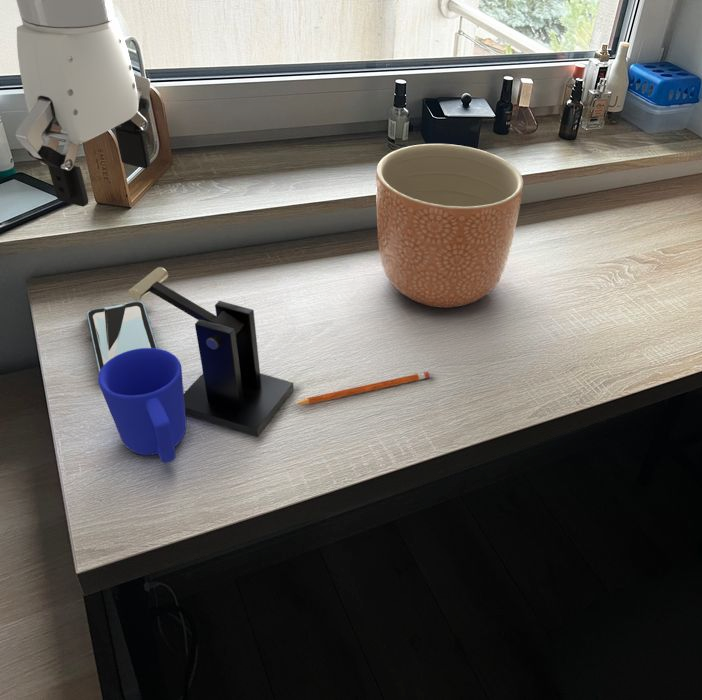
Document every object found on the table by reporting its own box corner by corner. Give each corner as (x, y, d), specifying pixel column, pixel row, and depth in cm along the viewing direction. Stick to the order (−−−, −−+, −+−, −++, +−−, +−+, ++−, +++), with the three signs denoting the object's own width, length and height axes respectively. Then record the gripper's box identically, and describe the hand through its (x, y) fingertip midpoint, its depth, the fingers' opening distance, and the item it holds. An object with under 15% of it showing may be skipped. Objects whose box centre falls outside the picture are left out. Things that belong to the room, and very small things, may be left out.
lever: (127, 298, 80) (129, 283, 79) (154, 276, 84) (158, 261, 83) (222, 355, 81) (227, 341, 80) (246, 330, 85) (251, 316, 83)
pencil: (429, 378, 96) (429, 374, 95) (295, 408, 89) (295, 404, 88) (427, 374, 96) (427, 370, 96) (293, 404, 89) (293, 399, 89)
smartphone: (100, 380, 88) (85, 310, 98) (101, 385, 89) (86, 315, 99) (163, 365, 91) (143, 299, 101) (164, 371, 92) (144, 305, 102)
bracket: (174, 411, 86) (156, 326, 79) (216, 367, 93) (203, 284, 85) (257, 436, 85) (248, 352, 77) (293, 389, 92) (288, 307, 84)
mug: (136, 498, 76) (117, 431, 70) (109, 426, 84) (89, 360, 77) (214, 470, 80) (202, 404, 74) (181, 404, 88) (168, 339, 81)
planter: (364, 254, 118) (366, 143, 107) (485, 248, 124) (500, 142, 112) (385, 330, 103) (390, 210, 91) (523, 320, 108) (544, 205, 97)
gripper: (95, -20, 71) (128, 145, 82) (-51, 19, 58) (11, 210, 69) (162, -7, 70) (187, 159, 81) (28, 36, 57) (79, 228, 67)
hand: (106, 182), depth 75 cm, fingers open, 9 cm apart
